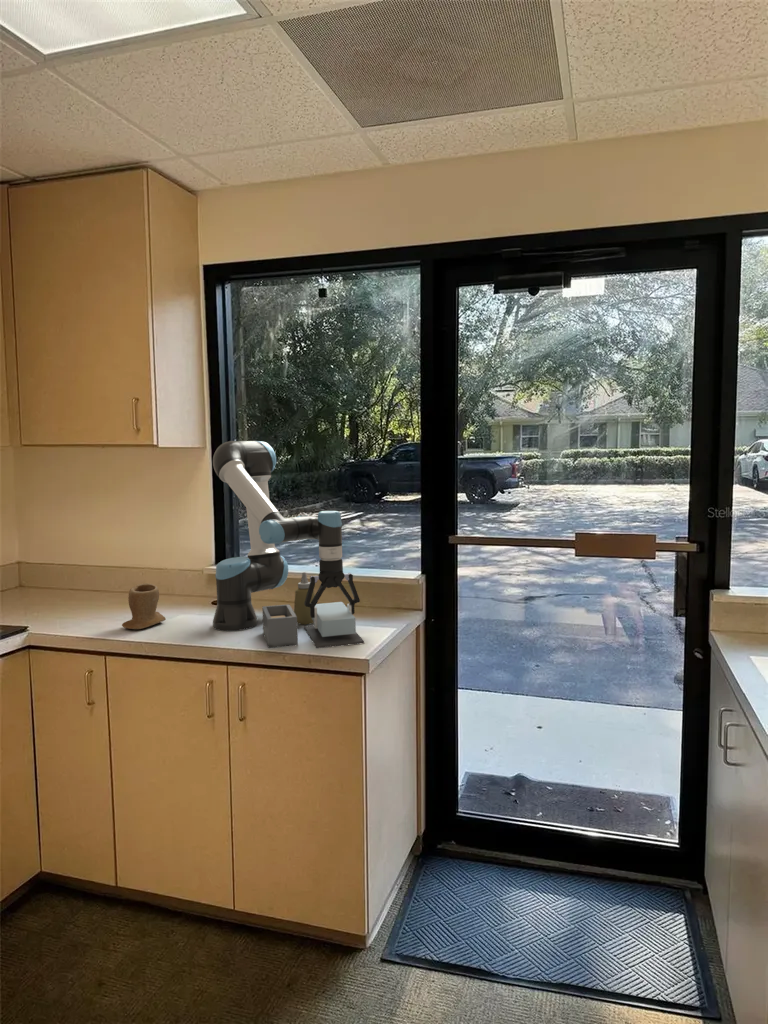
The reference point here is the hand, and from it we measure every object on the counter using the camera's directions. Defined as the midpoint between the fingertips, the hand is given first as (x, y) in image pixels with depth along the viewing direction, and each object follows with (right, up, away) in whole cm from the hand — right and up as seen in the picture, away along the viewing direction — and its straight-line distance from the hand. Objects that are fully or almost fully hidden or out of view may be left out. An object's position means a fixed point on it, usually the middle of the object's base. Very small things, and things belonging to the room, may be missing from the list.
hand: (332, 625), depth 212 cm
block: (0, 0, 0) cm, 0 cm away
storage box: (-17, -4, -2) cm, 18 cm away
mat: (0, -3, 0) cm, 3 cm away
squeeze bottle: (-11, -2, +17) cm, 20 cm away
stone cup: (-67, -3, +17) cm, 69 cm away
